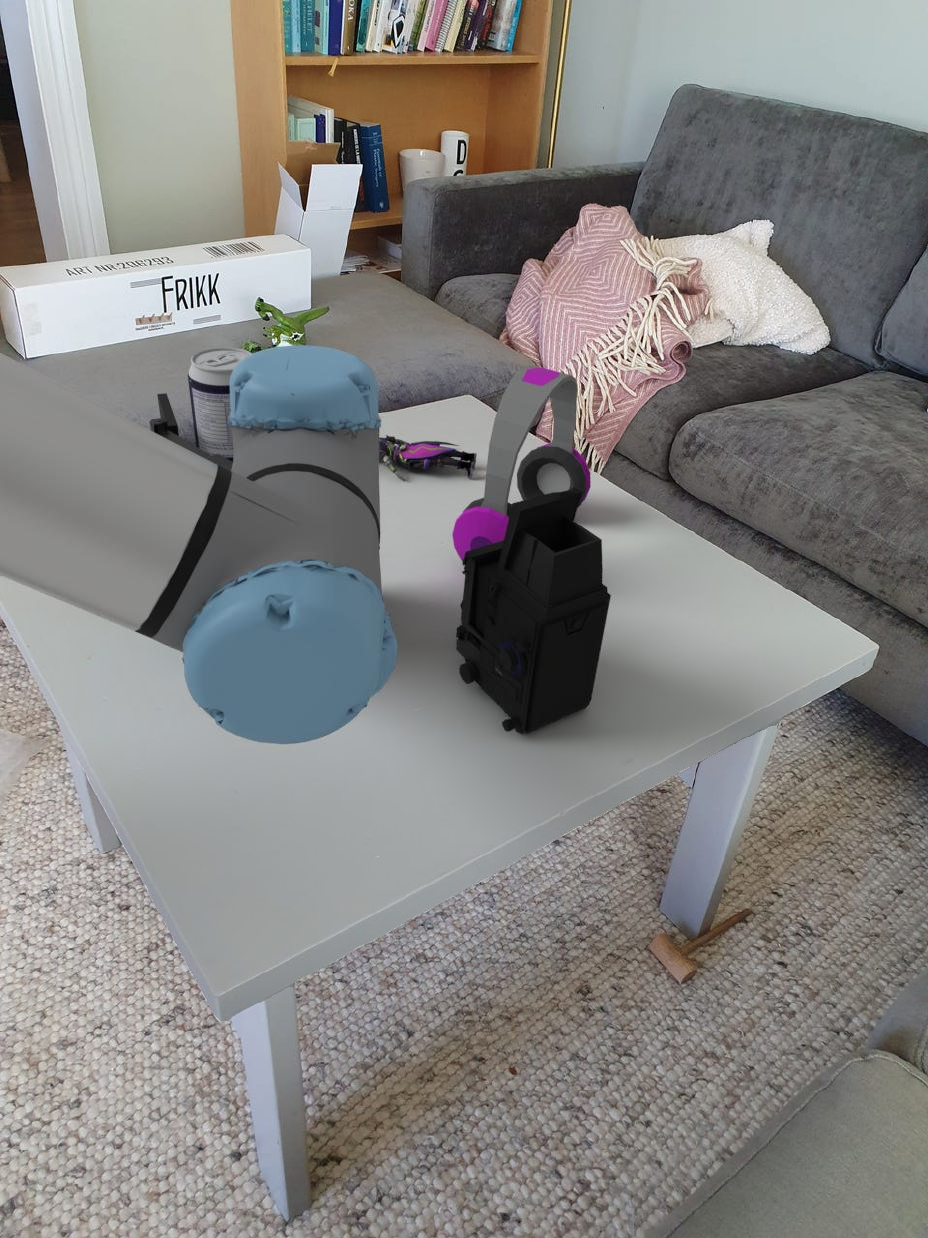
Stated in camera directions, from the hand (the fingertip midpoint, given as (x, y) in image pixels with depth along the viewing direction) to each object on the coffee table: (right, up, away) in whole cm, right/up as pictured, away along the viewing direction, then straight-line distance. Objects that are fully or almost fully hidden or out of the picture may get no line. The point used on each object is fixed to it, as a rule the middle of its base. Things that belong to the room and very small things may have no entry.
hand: (219, 403), depth 78 cm
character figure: (+14, +1, +40) cm, 43 cm away
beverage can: (+1, -8, 0) cm, 8 cm away
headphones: (+28, -10, +27) cm, 39 cm away
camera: (+26, -25, +6) cm, 36 cm away
